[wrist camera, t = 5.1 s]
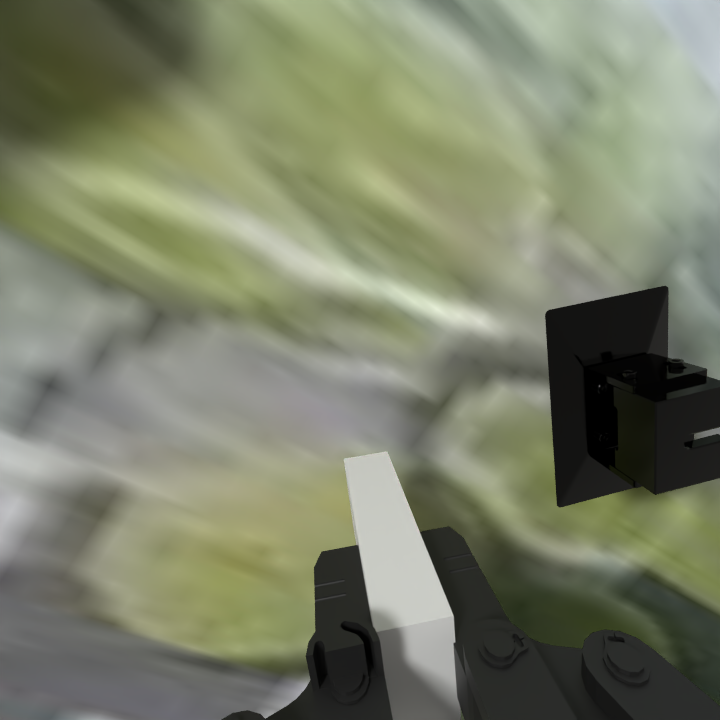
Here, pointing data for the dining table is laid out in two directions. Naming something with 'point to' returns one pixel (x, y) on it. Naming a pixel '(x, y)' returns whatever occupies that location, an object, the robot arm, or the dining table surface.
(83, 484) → the dining table surface
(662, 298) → the black wall mount bracket
